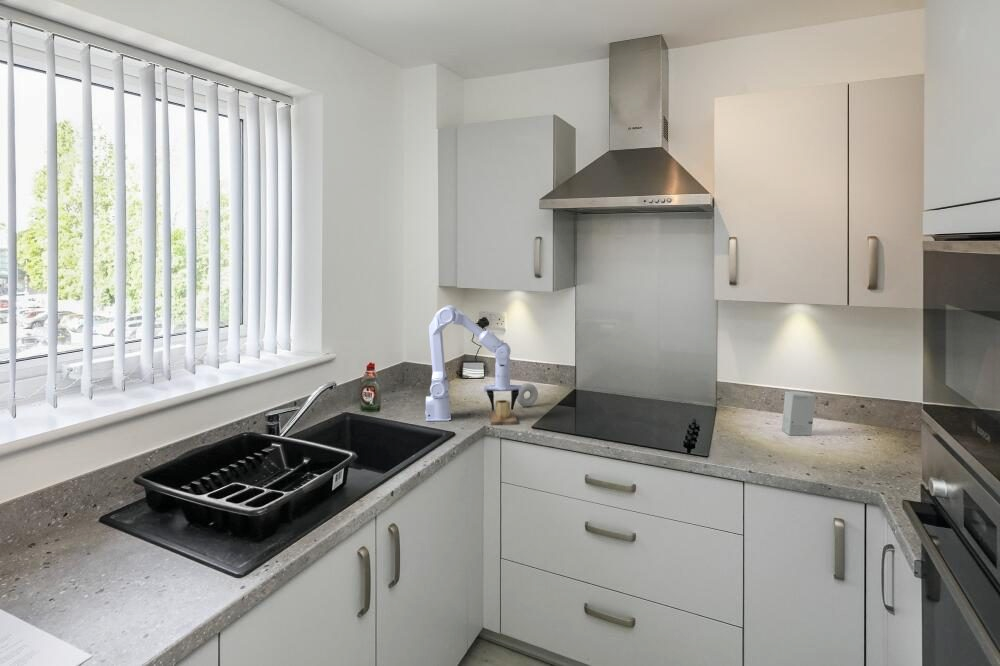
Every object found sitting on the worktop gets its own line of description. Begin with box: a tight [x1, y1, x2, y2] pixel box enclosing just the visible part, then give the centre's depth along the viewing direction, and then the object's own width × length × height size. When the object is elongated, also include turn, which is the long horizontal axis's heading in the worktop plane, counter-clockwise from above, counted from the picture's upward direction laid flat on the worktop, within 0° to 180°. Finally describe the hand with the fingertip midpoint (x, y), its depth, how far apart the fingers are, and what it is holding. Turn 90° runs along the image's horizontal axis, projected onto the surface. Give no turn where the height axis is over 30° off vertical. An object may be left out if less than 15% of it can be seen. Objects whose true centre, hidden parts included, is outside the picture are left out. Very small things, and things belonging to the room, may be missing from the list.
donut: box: [516, 382, 539, 407], centre depth 235 cm, size 10×3×10 cm, turn 113°
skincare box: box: [781, 390, 816, 436], centre depth 200 cm, size 8×6×15 cm
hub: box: [495, 399, 511, 419], centre depth 216 cm, size 5×5×6 cm
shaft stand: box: [488, 411, 518, 426], centre depth 216 cm, size 10×13×6 cm
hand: (502, 409), depth 216 cm, fingers open, 7 cm apart
